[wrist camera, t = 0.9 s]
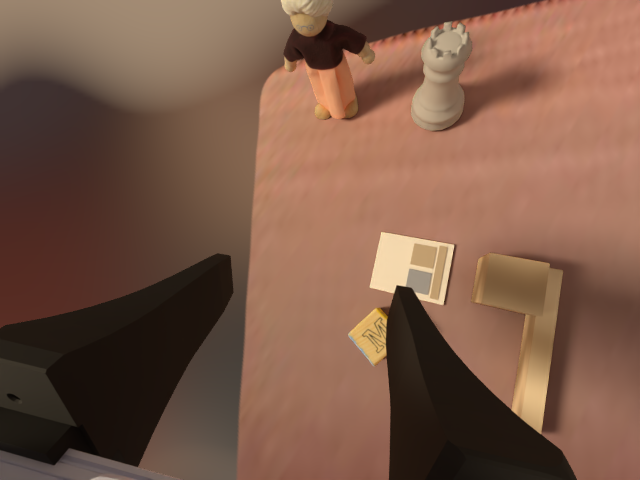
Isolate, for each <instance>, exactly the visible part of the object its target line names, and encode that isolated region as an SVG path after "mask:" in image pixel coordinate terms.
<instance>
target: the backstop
mask: <svg viewBox="0 0 640 480" xmlns="http://www.w3.org/2000/svg"><path fill="white" fill-rule="evenodd" d="M562 276H563V270H558V269H553V268H549V274H548V281H547V288H546V295H545V302H544V309H543V317H541V316H534V315H527V314H526V316H525V323H524V330H523V336H522V343H521V350H520V356H519V363H518V370H517V377H516V383H515V390H514V397H513V404H512V411H513V412H514V413H515V414H517V415H518V416H519V417H520V418H521V419H522V420H524V421H525V422H526V423H527V424H528V425H530V426H531V427H532V428H533V429H535V430H536V431H537V432H539V433H540V434H541V431H542V423H543V416H544V408H545V401H546V394H547V386H548V379H549V371H550V364H551V357H552V349H553V342H554V335H555V327H556V320H557V312H558V305H559V298H560V290H561V283H562Z"/></svg>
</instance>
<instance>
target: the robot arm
mask: <svg viewBox="0 0 640 480" xmlns="http://www.w3.org/2000/svg"><path fill="white" fill-rule="evenodd" d="M232 294H233V281H232V269H231V258H230V256H229V255H223V254H215V255H213V256H211V257H209V258H207V259H205V260H203V261H201V262H199V263H197V264H195V265H193V266H191V267H189V268H187V269H185V270H183V271H181V272H179V273H177V274H175V275H173V276H171V277H169V278H167V279H164V280H162V281H160V282H158V283H156V284H154V285H151V286H149V287H147V288H145V289H142V290H140V291H137V292H134V293H131V294H129V295H126V296H123V297H121V298H117V299H114V300H111V301H108V302H105V303H101V304H98V305H95V306H92V307H88V308H84V309H81V310H77V311H73V312H69V313H65V314H60V315H56V316H52V317H47V318H42V319H37V320H32V321H26V322H21V323H16V324H10V325H5V326H3V327H2V328H0V480H182V479H179V478H175V477H171V476H168V475H164V474H160V473H157V472H153V471H150V470H146V469H142V468H138V465H139V463H140V461H141V459H142V457H143V454H144V452H145V450H146V448H147V445H148V443H149V441H150V439H151V436H152V434H153V432H154V430H155V428H156V426H157V424H158V422H159V420H160V418H161V416H162V414H163V412H164V409H165V407H166V405H167V403H168V402H169V400H170V398H171V396H172V394H173V392H174V390H175V388H176V386H177V384H178V382H179V380H180V379H181V377H182V375H183V373H184V371H185V370H186V367H187V366H188V364H189V362H190V361H191V359H192V357H193V356H194V354H195V353H196V351H197V350H198V349H199V347H200V346H201V344H202V343H203V341H204V340H205V338H206V337H207V335H208V334H209V333H210V331H211V330H212V328H213V327H214V325H215V324H216V322H217V321H218V319H219V318H220V316H221V315H222V313H223V312H224V310H225V308H226V306H227V304H228V302H229V300H230V298H231V296H232ZM386 354H387V366H388V378H389V390H390V406H391V416H390V466H389V480H577V479H576V477H575V475H574V472H573V470H572V468H571V467H570V465H569V463H568V461H567V459H566V457H565V456H564V454H563V452H562V451H561V450H560V449H559V448H558V447H556V446H555V445H554V444H553V443H551V442H550V441H549V440H547V439H546V438H545V437H544V436H542V435H541V434H540V433H539V432H537V431H536V430H535V429H533V428H532V427H531V426H530V425H528V424H527V423H526V422H525V421H524V420H522V419H521V418H520V417H519V416H518V415H517V414H515V413H514V412H513V411H512V410H511V409H510V408H509V407H507V406H506V405H505V404H504V403H503V402H502V401H501V400H500V399H499V398H498V397H496V396H495V395H494V394H493V393H492V392H491V391H490V390H489V389H488V388H487V387H486V386H485V385H484V384H483V383H482V382H481V381H480V380H479V379H478V378H477V377H476V376H475V375H474V374H473V373H472V372H471V371H470V369H469V368H468V367H467V366H466V365H465V364H464V363H463V362H462V360H461V359H460V358H459V357H458V356H457V355H456V353H455V352H454V351H453V350H452V348H451V347H450V346H449V345H448V343H447V342H446V341H445V339H444V338H443V336H442V335H441V334H440V332H439V331H438V329H437V328H436V326H435V325H434V323H433V322H432V320H431V319H430V317H429V316H428V314H427V312H426V311H425V309H424V308H423V306H422V304H421V302H420V301H419V299H418V297H417V296H416V294H415V292H414V290H413V289H412V288H411V287H405V286H399V285H396V289H395V292H394V296H393V300H392V303H391V307H390V311H389V315H388V318H387V324H386Z"/></svg>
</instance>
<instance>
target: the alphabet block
mask: <svg viewBox="0 0 640 480" xmlns="http://www.w3.org/2000/svg"><path fill="white" fill-rule="evenodd" d="M387 318H388V316H387V315H386V314H385V313H384V312H383V311H382V310H381V309H380V308H375V309H374V310H373V311H372V312H371V313H370V314H369V315H368V316H367V317H366V318H365V319H364V320H363V321H361V322H360V323H359V324H358V325H357V326H356V327H355V328H354V329H353V330H352V331H351V332H349V333H348V336H349V337H350V339H351V340H352V341H353V342H354V343H355V344H356V346H357V347H358V348H359V349H360V350H361V351H362V353H363V354H364V355H365V356H366V358H367V359H368V360H369V361H370V362H371V364H372V365H373V366H376V365H377V364H378V363H379V362H380V361H381V360H382V359H383V358H384V357H385V356H387V354H386V324H387Z"/></svg>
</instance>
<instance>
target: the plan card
mask: <svg viewBox="0 0 640 480" xmlns="http://www.w3.org/2000/svg"><path fill="white" fill-rule="evenodd" d="M453 250H454V245H453V244H447V243H441V242H436V241H430V240H424V239H419V238H413V237H408V236H402V235H396V234H391V233H385V232H381V237H380V241H379V246H378V251H377V255H376V260H375V265H374V269H373V274H372V279H371V283H370V288H374V289H378V290H382V291H386V292H390V293H394V292H395V289H396V285H399V286H405V287H411V288H412V289H413V290H414V292H415V294H416V296H417V297H418V299H420V300H424V301H428V302H432V303H436V304H440V305H443V304H444V299H445V294H446V288H447V283H448V277H449V272H450V266H451V261H452V255H453Z"/></svg>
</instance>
